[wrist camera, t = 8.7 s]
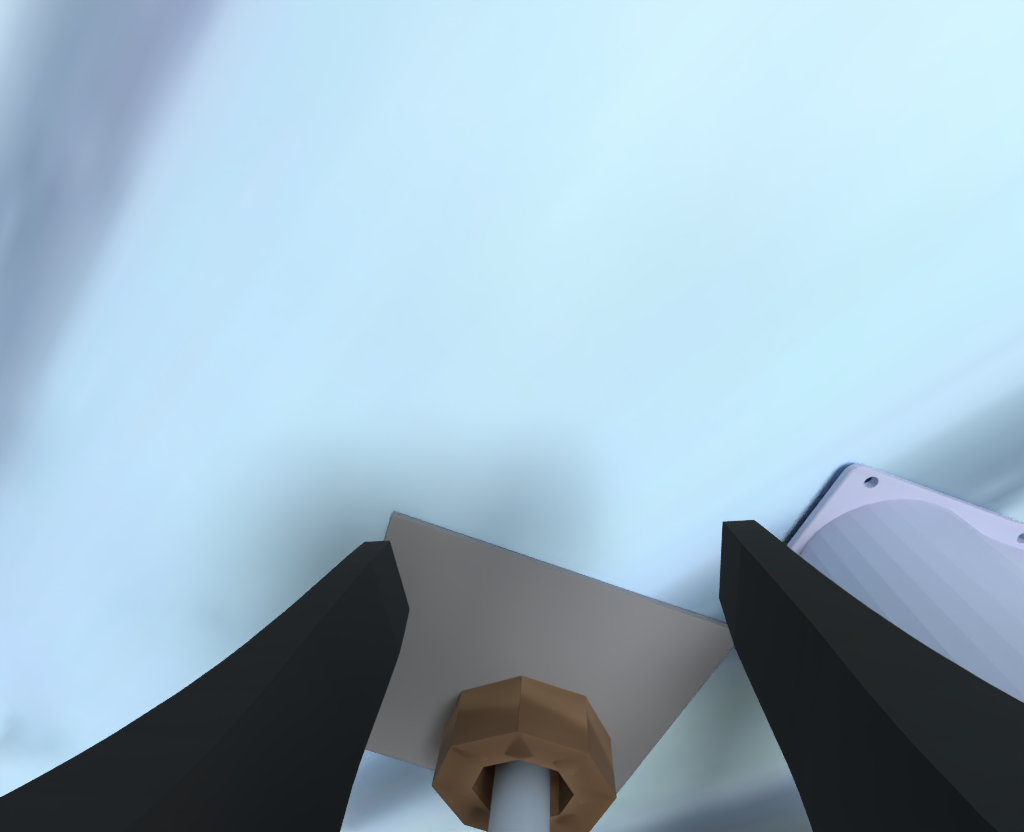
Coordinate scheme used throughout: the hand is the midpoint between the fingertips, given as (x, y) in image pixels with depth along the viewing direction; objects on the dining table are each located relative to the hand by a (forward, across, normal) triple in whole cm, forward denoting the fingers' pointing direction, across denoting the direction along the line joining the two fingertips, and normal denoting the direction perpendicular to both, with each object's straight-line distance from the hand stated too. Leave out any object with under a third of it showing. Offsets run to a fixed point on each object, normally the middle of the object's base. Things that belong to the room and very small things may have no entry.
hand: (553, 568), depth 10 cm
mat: (+10, +4, +17) cm, 20 cm away
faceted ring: (+10, +4, +20) cm, 23 cm away
